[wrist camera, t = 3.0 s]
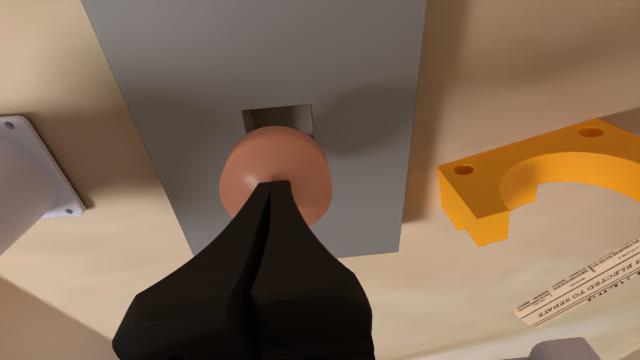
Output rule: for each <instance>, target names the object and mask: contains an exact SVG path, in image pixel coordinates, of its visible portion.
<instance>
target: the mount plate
mask: <svg viewBox="0 0 640 360" xmlns="http://www.w3.org/2000/svg"><path fill="white" fill-rule="evenodd" d="M81 2H82V5H83V7H84V9H85V11H86V14H87V16H88V18H89V20H90V23H91V25H92V27H93V29H94V32H95V34H96V36H97V39H98V41H99V43H100V45H101V48H102V50H103V52H104V54H105V57H106V59H107V61H108V63H109V66H110V68H111V70H112V72H113V75H114V77H115V79H116V81H117V84H118V86H119V88H120V90H121V93H122V95H123V97H124V100H125V102H126V104H127V106H128V109H129V111H130V113H131V115H132V118H133V120H134V122H135V124H136V127H137V129H138V131H139V133H140V136H141V138H142V140H143V142H144V145H145V147H146V149H147V151H148V154H149V156H150V158H151V160H152V163H153V165H154V167H155V170H156V172H157V174H158V176H159V179H160V181H161V183H162V185H163V188H164V190H165V192H166V194H167V197H168V199H169V201H170V203H171V206H172V208H173V210H174V212H175V215H176V217H177V219H178V221H179V224H180V226H181V228H182V230H183V233H184V235H185V237H186V240H187V242H188V244H189V246H190V249H191V251H192V253H193V255H194V256H196V255H197V254H198V253H199V252H200V251H201V250H203V249H204V248H205V247H206V246H207V245H209V244H210V243H211V242H212V241H213V240H214V239H215V238H216V237H217V236H218V235H219V234H220V233H221V232H222V231H223V230H224V229H225V227H226V226H227V225H228V224H229V223H230V221H231V220H232V219H233V218H232V217H231V216H230V215H229V213H228V212H227V211H226V209H225V208H224V206H223V204H222V201H221V198H220V194H219V183H220V178H221V175H222V172H223V170H224V167H225V164H226V162H227V159H228V156H229V154H230V152H231V149H232V148H233V146H234V145H235V144H236V143H237V141H238V140H239V139H241V138H242V137H243V136H244V135H246V134H247V133H249V132H251V131H253V130H255V126H254V121H253V116H252V111H251V109H260V108H271V107H282V106H293V105H304V104H311V111H312V123H313V134H314V140H315V141H316V142H317V143H318V144H319V145H320V146H321V148H322V149H323V151H324V153H325V155H326V157H327V161H328V165H329V171H330V176H331V181H332V188H333V191H332V200H331V203H330V206H329V208H328V209H327V211H326V213H325V214H324V215H323V216H322V217H321V219H320V220H318V221H317V222H316V223H315V224H313V225H312V226H310V227H309V228H310V229H311V231H312V232H313V233H314V235H315V236H316V237H317V238H318V240H319V241H320V242H321V243H322V244H323V245H324V246H325V248H326V249H327V250H328V251H329V252H330V253H331V254H332V255H333V256H334V257H335V258H344V257H354V256H364V255H374V254H384V253H393V252H398V251H399V242H400V234H401V225H402V216H403V207H404V199H405V190H406V181H407V172H408V164H409V155H410V146H411V137H412V129H413V120H414V111H415V102H416V94H417V85H418V76H419V67H420V59H421V50H422V41H423V32H424V24H425V15H426V6H427V0H81Z"/></svg>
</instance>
